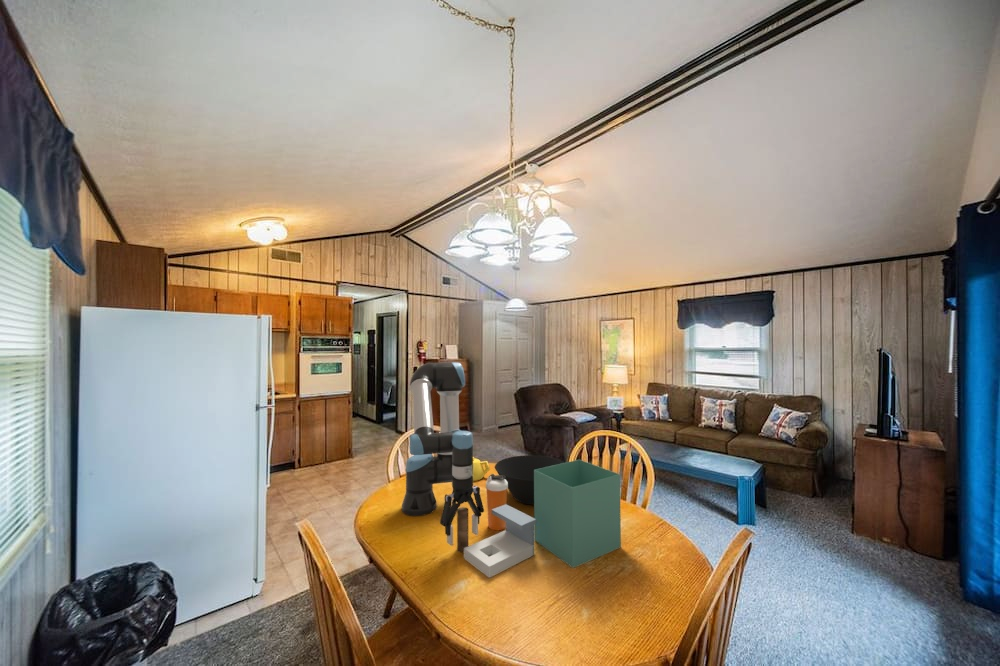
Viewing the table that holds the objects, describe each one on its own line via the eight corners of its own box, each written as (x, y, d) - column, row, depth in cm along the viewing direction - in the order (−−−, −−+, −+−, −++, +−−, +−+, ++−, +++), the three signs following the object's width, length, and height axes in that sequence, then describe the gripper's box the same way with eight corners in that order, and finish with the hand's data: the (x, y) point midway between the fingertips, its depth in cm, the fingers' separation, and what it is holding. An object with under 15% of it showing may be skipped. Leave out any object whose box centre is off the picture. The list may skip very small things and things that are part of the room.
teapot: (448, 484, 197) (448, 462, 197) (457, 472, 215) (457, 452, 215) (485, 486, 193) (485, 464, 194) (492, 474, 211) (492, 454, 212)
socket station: (462, 557, 129) (462, 520, 130) (506, 537, 142) (505, 504, 142) (491, 579, 117) (491, 538, 117) (536, 555, 130) (536, 519, 130)
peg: (455, 548, 135) (455, 509, 135) (464, 545, 137) (464, 506, 137) (461, 553, 131) (461, 513, 132) (470, 549, 134) (470, 509, 134)
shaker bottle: (505, 532, 146) (505, 480, 146) (483, 530, 148) (483, 479, 148) (509, 522, 154) (509, 472, 155) (488, 520, 156) (488, 471, 157)
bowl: (581, 493, 183) (581, 462, 184) (550, 523, 153) (550, 486, 154) (518, 479, 202) (518, 451, 203) (480, 503, 172) (479, 470, 173)
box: (572, 568, 123) (572, 487, 124) (534, 540, 140) (533, 469, 141) (621, 547, 135) (620, 474, 136) (580, 523, 153) (579, 459, 153)
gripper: (440, 486, 125) (440, 554, 124) (493, 471, 139) (494, 532, 139) (429, 480, 131) (429, 545, 130) (481, 466, 145) (481, 524, 145)
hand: (462, 538), depth 134 cm, fingers open, 10 cm apart
